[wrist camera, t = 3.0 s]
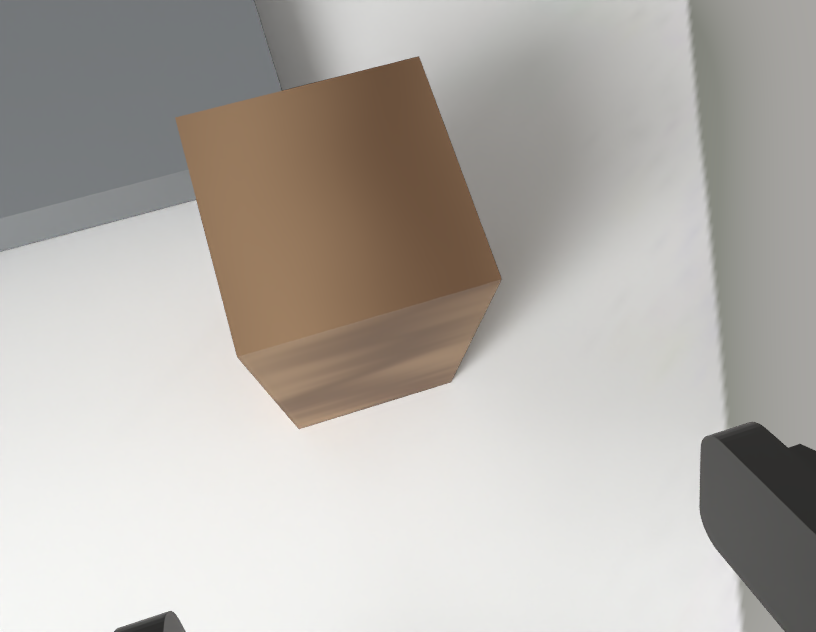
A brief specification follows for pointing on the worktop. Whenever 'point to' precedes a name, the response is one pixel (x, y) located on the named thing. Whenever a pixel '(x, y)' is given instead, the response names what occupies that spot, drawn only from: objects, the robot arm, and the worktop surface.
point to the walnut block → (341, 239)
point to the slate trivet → (112, 104)
